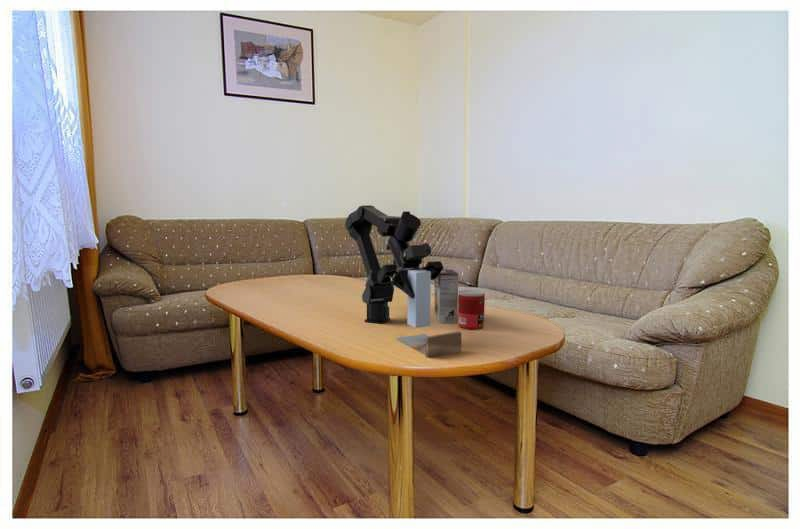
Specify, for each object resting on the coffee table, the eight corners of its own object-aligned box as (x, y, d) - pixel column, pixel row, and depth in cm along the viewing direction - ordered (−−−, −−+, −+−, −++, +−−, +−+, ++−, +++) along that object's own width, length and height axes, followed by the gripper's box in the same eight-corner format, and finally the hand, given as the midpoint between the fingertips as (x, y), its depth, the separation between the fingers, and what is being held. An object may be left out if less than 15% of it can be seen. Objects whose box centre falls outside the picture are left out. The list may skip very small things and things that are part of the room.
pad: (396, 339, 132) (396, 337, 131) (423, 335, 136) (423, 333, 136) (412, 347, 124) (412, 346, 124) (440, 343, 128) (440, 341, 128)
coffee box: (433, 316, 158) (434, 269, 156) (452, 316, 159) (453, 269, 157) (438, 323, 149) (438, 273, 147) (458, 322, 150) (458, 272, 148)
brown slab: (410, 348, 123) (410, 329, 123) (442, 342, 128) (442, 325, 127) (427, 357, 116) (428, 337, 115) (461, 351, 120) (461, 332, 120)
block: (407, 324, 130) (407, 270, 128) (421, 322, 132) (422, 269, 130) (415, 327, 126) (416, 272, 124) (429, 325, 128) (430, 271, 126)
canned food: (483, 330, 140) (484, 294, 139) (456, 329, 142) (457, 293, 141) (484, 324, 148) (485, 290, 146) (458, 323, 149) (459, 289, 148)
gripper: (381, 234, 125) (401, 282, 117) (440, 232, 133) (462, 276, 125) (369, 260, 133) (386, 306, 125) (425, 257, 141) (445, 300, 133)
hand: (421, 297), depth 127 cm, fingers closed on block, 4 cm apart
